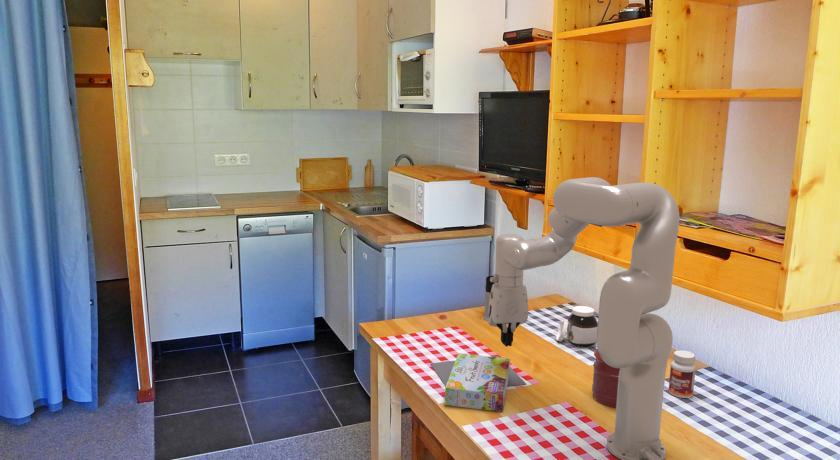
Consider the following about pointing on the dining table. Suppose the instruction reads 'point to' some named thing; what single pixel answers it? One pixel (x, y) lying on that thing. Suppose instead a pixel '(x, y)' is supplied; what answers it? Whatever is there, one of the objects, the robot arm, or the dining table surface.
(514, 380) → the mat
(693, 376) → the pill bottle
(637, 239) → the robot arm
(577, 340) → the spread jar
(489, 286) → the grey mug
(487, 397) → the snack box
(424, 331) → the dining table surface
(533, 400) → the dining table surface
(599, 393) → the canister
